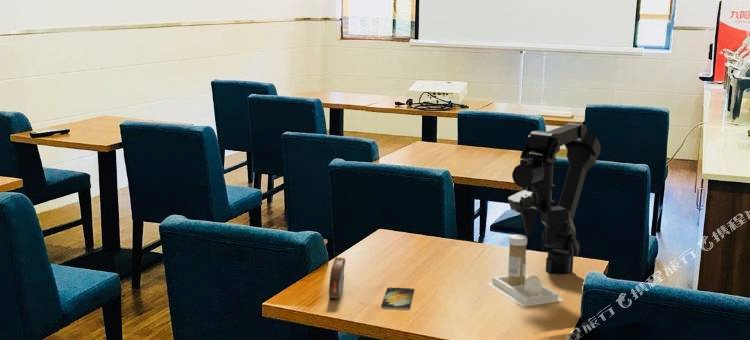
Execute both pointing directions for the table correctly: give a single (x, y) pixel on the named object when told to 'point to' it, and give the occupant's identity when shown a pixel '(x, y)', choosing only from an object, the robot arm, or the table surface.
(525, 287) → the egg
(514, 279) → the sprinkles bottle
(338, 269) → the tin
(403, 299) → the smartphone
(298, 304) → the table surface
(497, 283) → the tray
